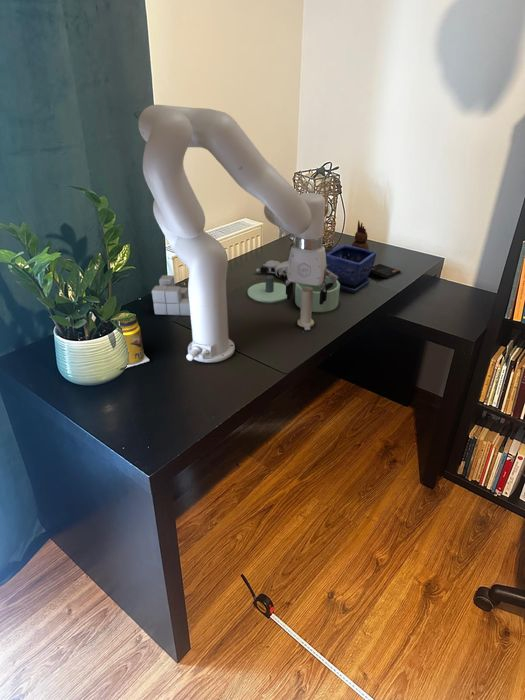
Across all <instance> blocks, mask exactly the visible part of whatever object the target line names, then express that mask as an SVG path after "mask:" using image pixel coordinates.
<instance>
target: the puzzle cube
mask: <svg viewBox="0 0 525 700" xmlns="http://www.w3.org/2000/svg"><path fill="white" fill-rule="evenodd" d="M158 282H159V285H154V286H153V288H152V290H151V296H152V303H153V304H152V305H153V311H154V315H165V316H187V317H188V316H190V317H191V315H190V304H189V296H188V287H181V286H179V285H178V286H177V285H176V281H175V275H169V274H168V275H167V274H165V275H164V274H162V275H161V277H160V278H159V280H158Z"/></svg>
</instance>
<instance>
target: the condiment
mask: <svg viewBox="0 0 525 700" xmlns="http://www.w3.org/2000/svg"><path fill="white" fill-rule="evenodd" d="M134 316H135V317H134V318H133V319H130V320H125V321H120V326H121V328H122V332H123V335H124V338H125V341H126V345H127V348H128V352H129V362H128V365H127V367H126V368H125V369H127V368H130V367H134V366H138V365H141V364H144V363H147V362H150V359H149V358H148V357H147V356H146V354H145V353H144V345H143V339H142V333H141V332H142V331H141V326H140V325H139V322H138V317H137V316H136V315H134Z"/></svg>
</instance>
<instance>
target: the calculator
mask: <svg viewBox="0 0 525 700" xmlns="http://www.w3.org/2000/svg"><path fill="white" fill-rule="evenodd" d="M370 274H374V275H376V276H380V277H382V278H385V279H391V278H393V277H395V276H397V275H399V274H401V270H399V269H396V268H393V267H390V266H388V265H384V264H381V263H378V264H374V265H373V267H372V270H371V271H370Z"/></svg>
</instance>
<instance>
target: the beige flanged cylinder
mask: <svg viewBox="0 0 525 700" xmlns="http://www.w3.org/2000/svg"><path fill="white" fill-rule="evenodd" d="M312 296H313V289H312V288H310V287H303V288H302V289H301V308H300V317H299V319H297V321H296V322H297V323H296V324H297V325H298V326H299V327H302V328H304V331H311V327H313V326H314V325H315V321H314V319H312V315H313V313H312Z"/></svg>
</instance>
